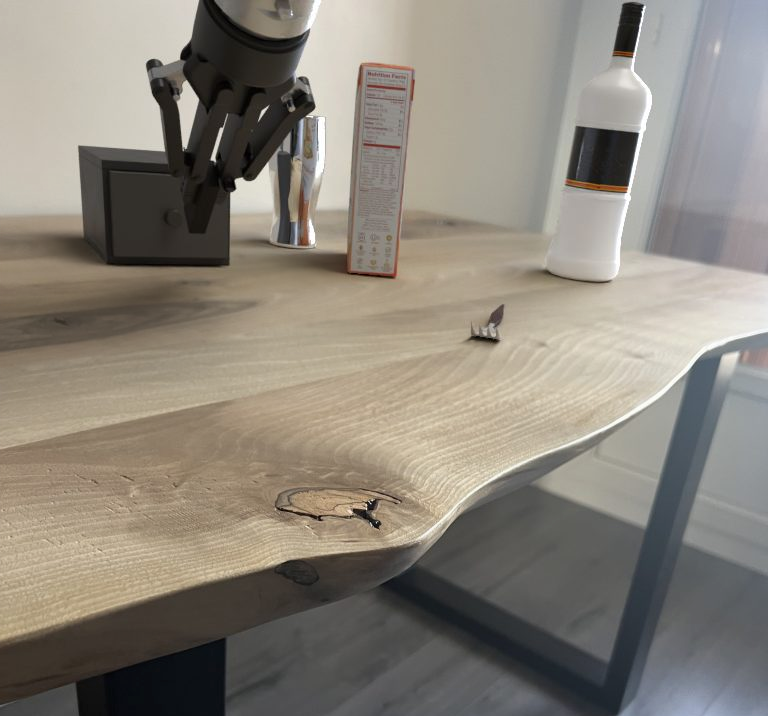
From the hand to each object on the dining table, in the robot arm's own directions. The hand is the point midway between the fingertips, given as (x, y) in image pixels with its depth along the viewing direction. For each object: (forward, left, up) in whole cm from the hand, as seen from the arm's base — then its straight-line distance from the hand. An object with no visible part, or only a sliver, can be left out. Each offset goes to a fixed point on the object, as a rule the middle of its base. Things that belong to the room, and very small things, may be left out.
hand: (194, 220), depth 75 cm
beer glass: (+6, +29, -6) cm, 31 cm away
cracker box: (+16, +20, -6) cm, 27 cm away
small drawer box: (-8, +15, -6) cm, 18 cm away
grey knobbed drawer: (-7, +13, -5) cm, 16 cm away
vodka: (+43, +28, -6) cm, 52 cm away
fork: (+28, -5, -6) cm, 29 cm away
